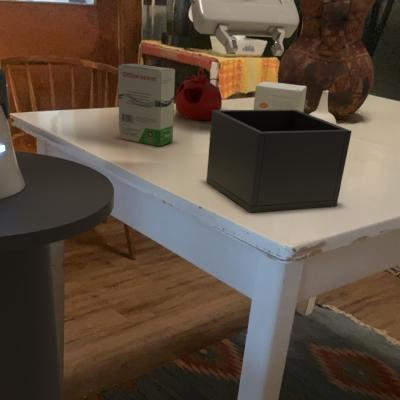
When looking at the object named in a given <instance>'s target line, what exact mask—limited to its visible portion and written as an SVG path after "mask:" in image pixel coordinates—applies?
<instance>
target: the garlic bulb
mask: <svg viewBox="0 0 400 400" xmlns="http://www.w3.org/2000/svg"><path fill="white" fill-rule="evenodd" d="M328 92H329V91H327V90H326V91H323V93H322V96H321V99H320V102H319V105H318V108H317V110H316V111H314V112H312V113H310V114H309V115H311V116H314V117H317V118H319V119H322V120H324V121H327V122H330V123H332V124H335V125H337V119H335V117H334V116H333V115H332V114H331V113H329V112H328Z"/></svg>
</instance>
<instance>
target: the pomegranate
mask: <svg viewBox="0 0 400 400" xmlns="http://www.w3.org/2000/svg"><path fill="white" fill-rule="evenodd" d="M204 72H205V69H204V68H199V69H198V77H197V76H196V75H195V74H192V75H191V76H189V75H187V76H181V78H180V79H183V78H188V79H186V80H183V81H182V82H181V84H180V85H179V87H178V89H177V91H176V97H175V98H174V105H175V110H176V112H177V114H178V115H180V116H181V117H184V118H186V119H189V120H194V121H209V120H210V121H211V118H212V110H222V105H223V100H222V94H221V91H220V89H219V87H217V86H216V85H215V84H213V83H212V82H210V81H212V80H214V81H218V78H214V77H213V78H207V77H206V74H204Z"/></svg>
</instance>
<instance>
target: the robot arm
mask: <svg viewBox="0 0 400 400" xmlns="http://www.w3.org/2000/svg"><path fill="white" fill-rule="evenodd" d="M189 2H190V4H191V5H190V7H191V8H190V9H191V16H192V17H191V18H192V24H193V28H194V29H195V31H196V32H198V33H199V34H201V35H215V39H216V40H217V41H218V42H219V43H220V44H221V45H222V46H223V47H224V49H225V50H224V51H225V53H226V55H236V53H237V52H238V49H239V47H238V46H239V45H238V44H237V43H238V42H237V39H232V37H231V36H239V37H261V38H262V37H263V38H272V40H273V42H274V43H273V45H272V46H271V47H270V51H271V53H272V56H274V57H281V56H283V54H284V53H285V48H284V43H283V41H284V39H289V38H291V37H292V36H293V34H294V33H295V31H296V30H297V29H298V26H299V24H300V16H299V12H298V9H297V6H296V3H295V0H189ZM9 95H10V94H9V85H8V80H7V77H6V71H5V70H3V68H2V62H1V60H0V199H3V198H6V197H10V196H12V195H15V194H17V193H19V192H20V191H22V190H23V189H24V187H25V182H24V179H23V177H22V174H21V171H20V168H19V165H18V162H17V159H16V155H15V151H16V150H15V147H14V144H13V139H12V134H11V130H10V123H9V119H10V112H11V108H10V107H11V106H10V96H9Z"/></svg>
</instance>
